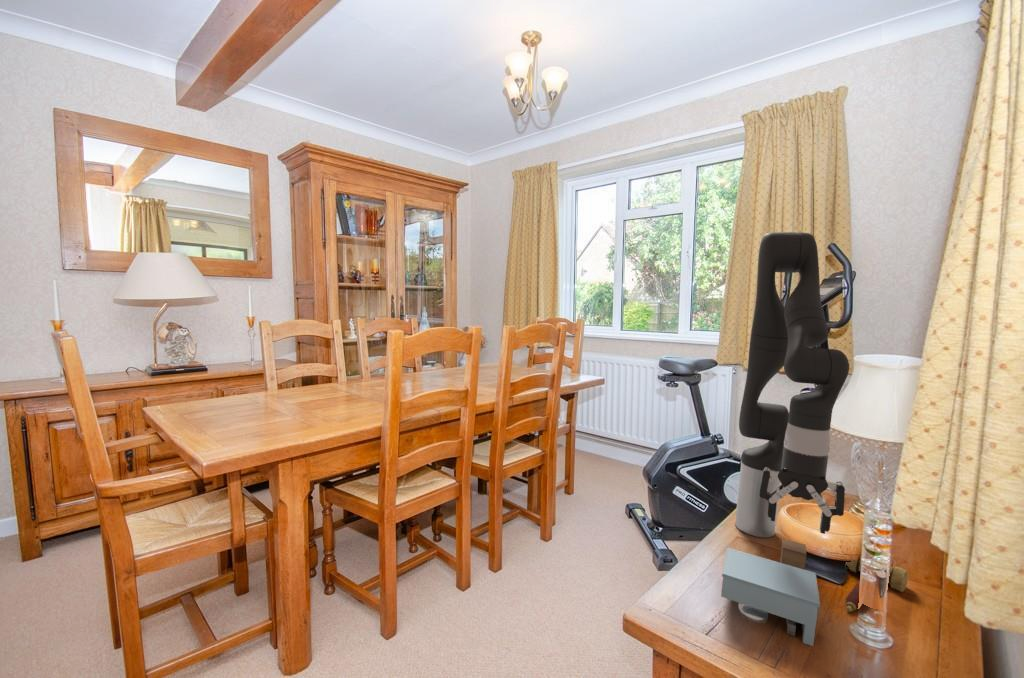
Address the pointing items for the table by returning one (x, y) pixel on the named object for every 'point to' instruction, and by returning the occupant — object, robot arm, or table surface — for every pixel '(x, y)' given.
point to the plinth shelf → (772, 589)
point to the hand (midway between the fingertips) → (796, 525)
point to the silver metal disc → (752, 613)
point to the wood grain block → (794, 557)
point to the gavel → (895, 580)
